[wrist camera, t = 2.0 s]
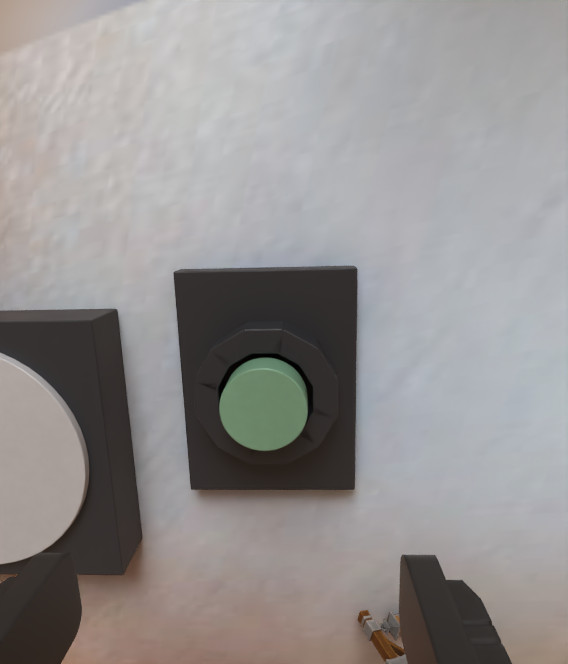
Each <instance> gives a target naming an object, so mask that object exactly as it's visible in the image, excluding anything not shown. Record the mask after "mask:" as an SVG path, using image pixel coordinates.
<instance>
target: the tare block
mask: <svg viewBox="0 0 568 664" xmlns="http://www.w3.org/2000/svg"><path fill="white" fill-rule="evenodd" d="M174 283H175V296H176V308H177V321H178V333H179V346H180V358H181V371H182V383H183V396H184V408H185V421H186V433H187V446H188V458H189V471H190V483H191V489H228V490H354V489H355V422H356V340H357V268H356V267H355V266H321V267H274V268H227V269H181V270H178V271H175V272H174ZM256 358H274V359H278V360H281V361H283V362H286V363H287V364H289V365H290V366H292V367H293V368H294V369H295V370H296V371H297V372H298V373H299V374H300V376H301V377H302V379H303V381H304V383H305V386H306V389H307V397H308V415H307V420H306V423H305V426H304V428H303V430H302V432H301V433H300V434H299V436H298V437H297V438H296V439H295V440H294V441H292V442H291V443H290V444H288V445H286V446H284V447H282V448H279V449H276V450H271V451H258V450H253V449H250V448H247V447H245V446H243V445H241V444H239V443H238V442H236V441H235V440H234V439H233V438H232V437H231V436H230V435H229V434H228V432H227V431H226V430H225V428H224V426H223V424H222V421H221V418H220V413H219V404H220V398H221V395H222V393H223V390H224V388H225V386H226V384H227V382H228V380H229V378H230V376H231V375H232V373H233V372H234V371H235V370H236V369H237V368H238V367H239V366H241V365H242V364H244V363H245V362H247V361H250V360H253V359H256Z"/></svg>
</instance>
